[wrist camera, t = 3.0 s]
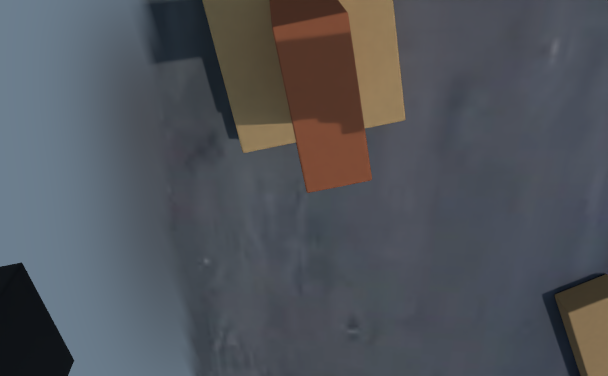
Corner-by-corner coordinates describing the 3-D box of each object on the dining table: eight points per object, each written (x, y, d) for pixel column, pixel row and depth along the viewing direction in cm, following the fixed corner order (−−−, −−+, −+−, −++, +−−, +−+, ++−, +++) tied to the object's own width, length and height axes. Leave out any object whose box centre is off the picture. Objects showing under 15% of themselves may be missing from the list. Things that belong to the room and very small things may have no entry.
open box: (243, 139, 28) (237, 231, 20) (201, -25, 24) (173, 13, 16) (397, 108, 28) (451, 189, 20) (378, -62, 24) (435, -42, 16)
